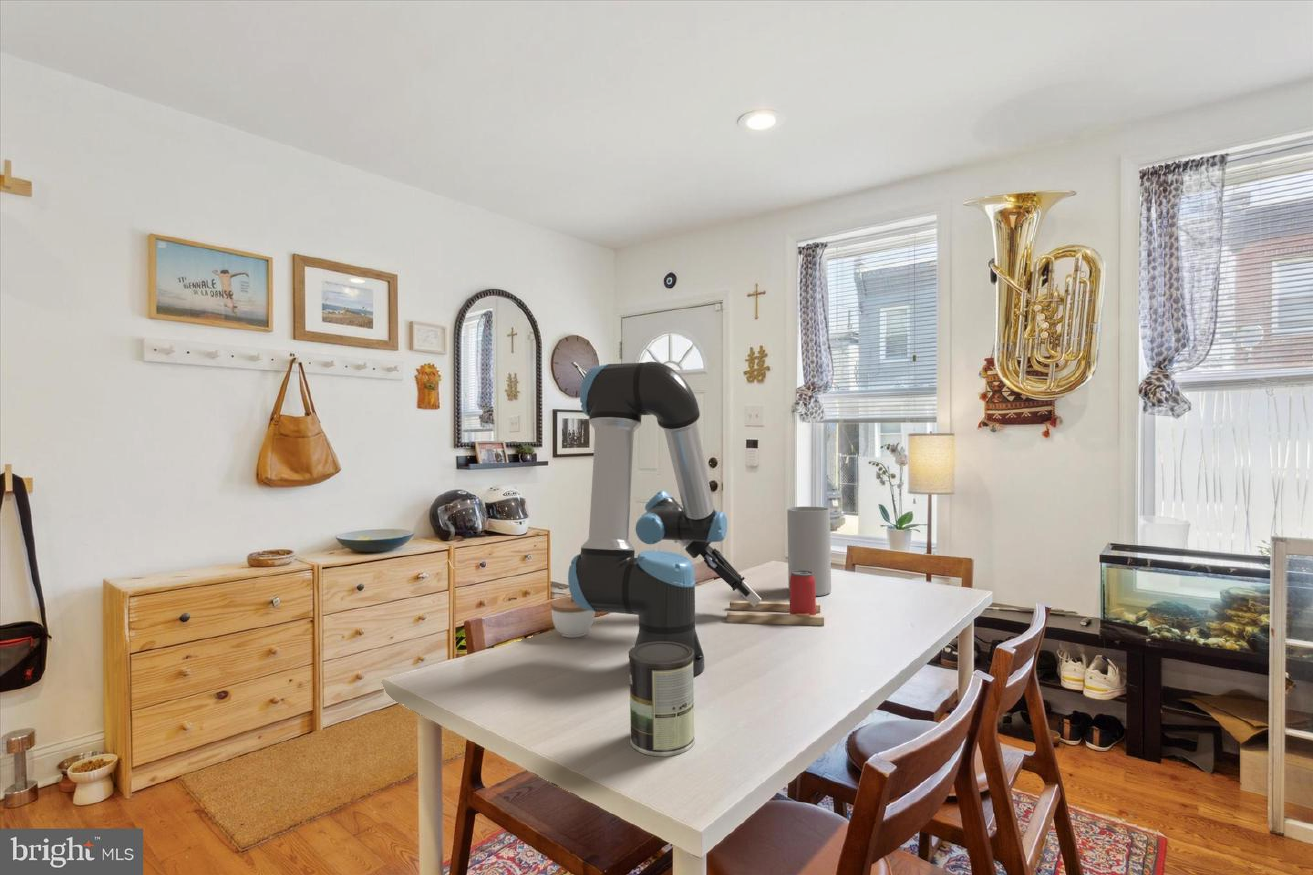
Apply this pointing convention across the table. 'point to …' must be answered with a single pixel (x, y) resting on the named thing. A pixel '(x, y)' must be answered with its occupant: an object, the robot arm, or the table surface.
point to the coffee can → (661, 698)
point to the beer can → (802, 592)
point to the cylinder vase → (810, 544)
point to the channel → (772, 618)
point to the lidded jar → (571, 618)
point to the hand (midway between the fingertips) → (757, 602)
